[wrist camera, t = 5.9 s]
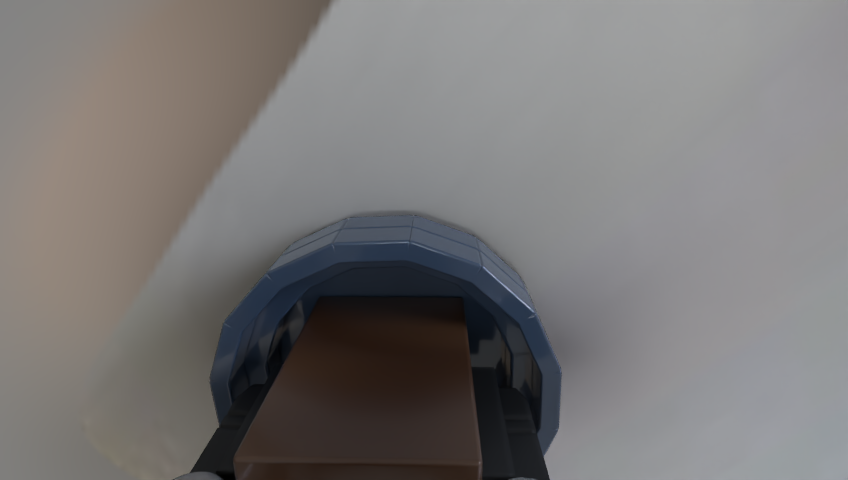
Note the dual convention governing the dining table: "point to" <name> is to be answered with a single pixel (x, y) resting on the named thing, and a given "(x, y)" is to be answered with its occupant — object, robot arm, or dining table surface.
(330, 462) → the block
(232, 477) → the robot arm
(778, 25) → the dining table surface
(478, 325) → the slate dish
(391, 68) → the dining table surface
